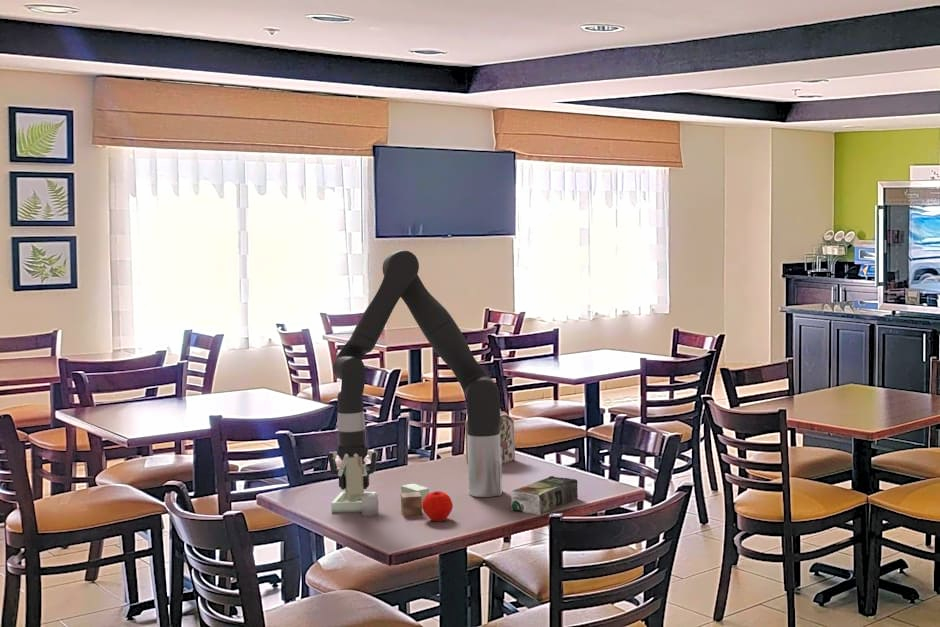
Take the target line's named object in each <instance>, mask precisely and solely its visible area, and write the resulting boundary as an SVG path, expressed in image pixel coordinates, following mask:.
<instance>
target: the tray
mask: <svg viewBox="0 0 940 627" xmlns="http://www.w3.org/2000/svg"><path fill="white" fill-rule="evenodd" d="M364 494H377V491H364ZM330 506H331V513H362V502H361V501H357V502H349V501H348V500H347V499H346V496H345V491H341V492H340V493H339V494H338V495H337V496H336V497H335V498H334V499H333V500H332V501H331V503H330Z"/></svg>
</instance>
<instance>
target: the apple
mask: <svg viewBox="0 0 940 627" xmlns="http://www.w3.org/2000/svg"><path fill="white" fill-rule="evenodd" d="M453 506H454V505H453V501H452V499H451V497H450V495H448V494H447V493H446V492H443V491H438V490H437V491H433V492H429V494H427V495H426V496H425V498H424V500H423V502H422V512H424V514H425V515H426V516H427V517H428V518H429V520H431V521H434V522H442V521H444V520H446V519H447V518H448V516H450V514H451V512H452V511H453Z"/></svg>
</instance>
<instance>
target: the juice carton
mask: <svg viewBox="0 0 940 627" xmlns="http://www.w3.org/2000/svg"><path fill="white" fill-rule="evenodd" d="M578 493H579V492H578V480H577V479H576V478H575V479H574V478H568V477H558V476H557V477H556V476H554V475H550V476H548V477H546V478H544V479H540V480H538V481H535V482H533V483H530V484H527V485H524V486H522V487H519V488H517V489H514V490H512V491H510V494H511V495H510V496H511V511H520V512H523V513H525V514H526V513H527V514H533V515H538V516H539V515H542V514H544V513H547V512H550V511H551V510H554V509H556V508H560V507H561V506H564V505H567V504H570V503H572V502H574V501H577V500H578V497H579V496H578Z"/></svg>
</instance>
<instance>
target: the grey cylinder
mask: <svg viewBox="0 0 940 627" xmlns="http://www.w3.org/2000/svg"><path fill="white" fill-rule="evenodd" d="M361 502H362V512H361V515H362V516H363V517H374V516H378V515H379V512H380V511H379V495H378V494H377V493H376V494H364V495H362V496H361Z"/></svg>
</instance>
